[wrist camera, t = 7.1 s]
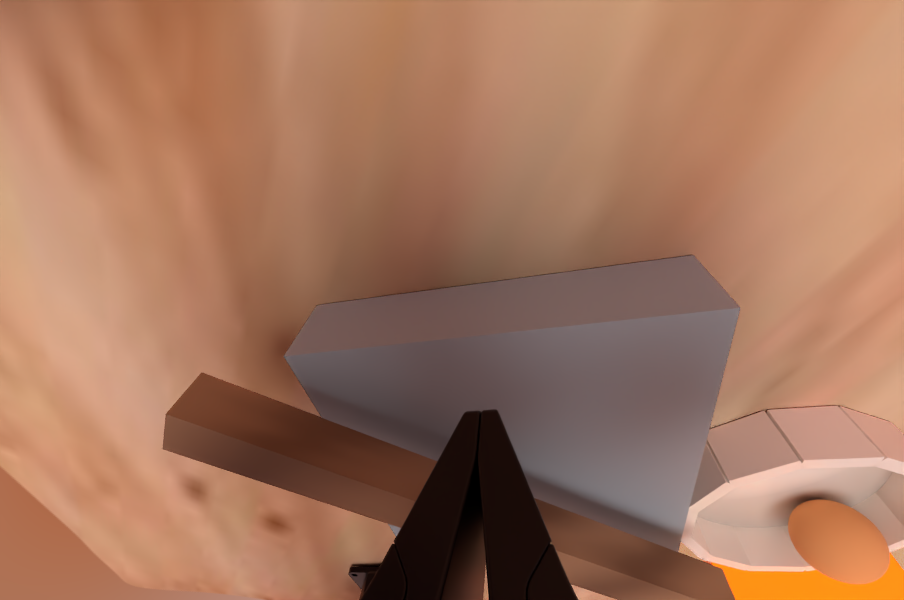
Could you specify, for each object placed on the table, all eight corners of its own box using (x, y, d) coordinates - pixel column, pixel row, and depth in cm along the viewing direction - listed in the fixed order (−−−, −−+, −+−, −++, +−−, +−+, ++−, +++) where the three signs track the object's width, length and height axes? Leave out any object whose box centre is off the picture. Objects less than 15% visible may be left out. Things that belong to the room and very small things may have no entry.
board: (654, 501, 22) (681, 580, 18) (418, 506, 24) (407, 575, 21) (693, 255, 13) (756, 325, 10) (316, 305, 15) (272, 373, 12)
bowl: (854, 522, 21) (891, 572, 19) (654, 524, 23) (670, 570, 21) (947, 399, 15) (1012, 452, 13) (673, 415, 17) (695, 463, 15)
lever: (732, 564, 16) (753, 612, 15) (677, 585, 18) (691, 629, 16) (203, 362, 12) (166, 404, 10) (194, 415, 13) (162, 456, 12)
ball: (759, 505, 20) (806, 483, 20) (788, 577, 19) (836, 551, 20) (834, 525, 16) (886, 498, 17) (873, 612, 16) (925, 580, 17)
